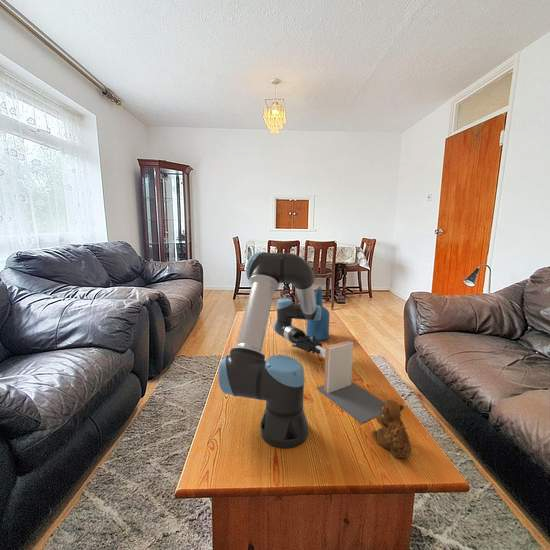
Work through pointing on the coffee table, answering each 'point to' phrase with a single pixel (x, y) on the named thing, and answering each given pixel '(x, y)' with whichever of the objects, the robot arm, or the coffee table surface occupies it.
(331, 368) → the tile
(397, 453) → the stuffed squirrel
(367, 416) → the mat
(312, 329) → the wine bottle
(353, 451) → the coffee table surface
